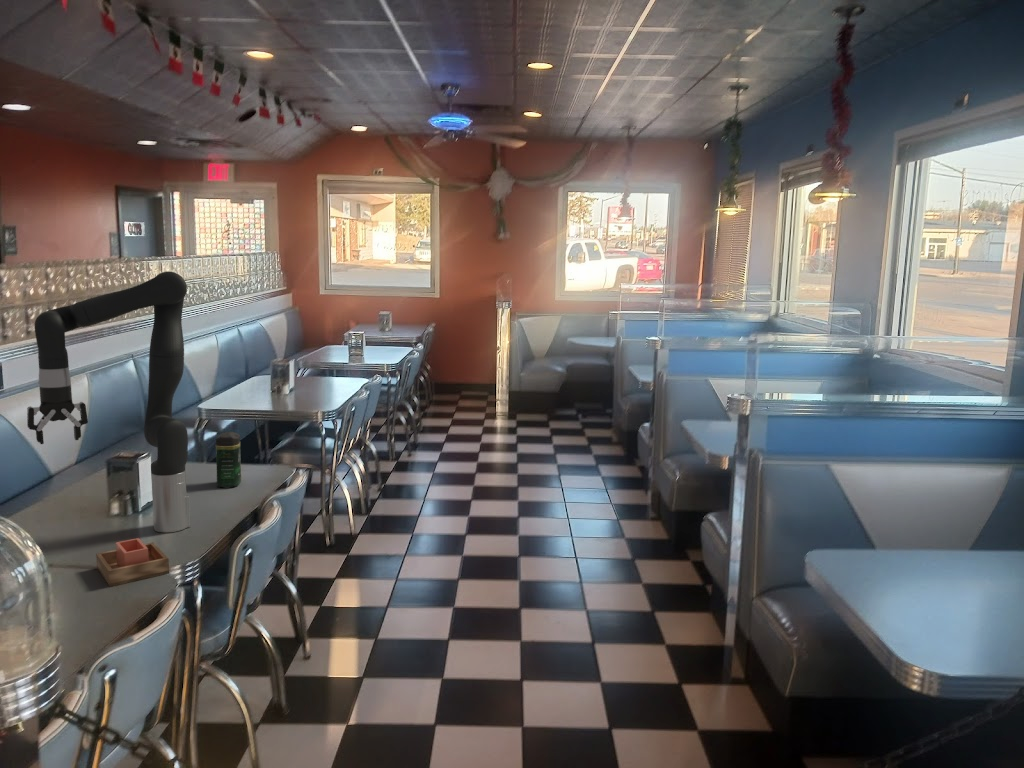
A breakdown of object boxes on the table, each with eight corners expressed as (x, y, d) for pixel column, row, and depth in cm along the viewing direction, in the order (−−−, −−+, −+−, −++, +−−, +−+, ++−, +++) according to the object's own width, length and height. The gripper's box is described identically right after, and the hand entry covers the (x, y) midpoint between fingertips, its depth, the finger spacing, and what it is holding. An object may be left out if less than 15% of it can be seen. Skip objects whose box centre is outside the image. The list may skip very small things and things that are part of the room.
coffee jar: (239, 488, 270) (237, 436, 267) (215, 488, 269) (213, 436, 265) (243, 480, 279) (241, 429, 276) (220, 480, 278) (218, 430, 275)
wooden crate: (154, 556, 209) (153, 542, 208) (169, 573, 199) (168, 558, 198) (97, 568, 200) (96, 553, 200) (109, 586, 190) (108, 571, 189)
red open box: (149, 570, 198) (148, 548, 197) (125, 576, 194) (124, 553, 193) (139, 559, 205) (138, 538, 204) (117, 564, 201) (115, 542, 200)
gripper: (27, 388, 206) (31, 448, 208) (87, 383, 215) (91, 441, 217) (22, 384, 212) (27, 442, 214) (81, 380, 220) (85, 435, 223)
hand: (59, 441), depth 216 cm, fingers open, 8 cm apart
